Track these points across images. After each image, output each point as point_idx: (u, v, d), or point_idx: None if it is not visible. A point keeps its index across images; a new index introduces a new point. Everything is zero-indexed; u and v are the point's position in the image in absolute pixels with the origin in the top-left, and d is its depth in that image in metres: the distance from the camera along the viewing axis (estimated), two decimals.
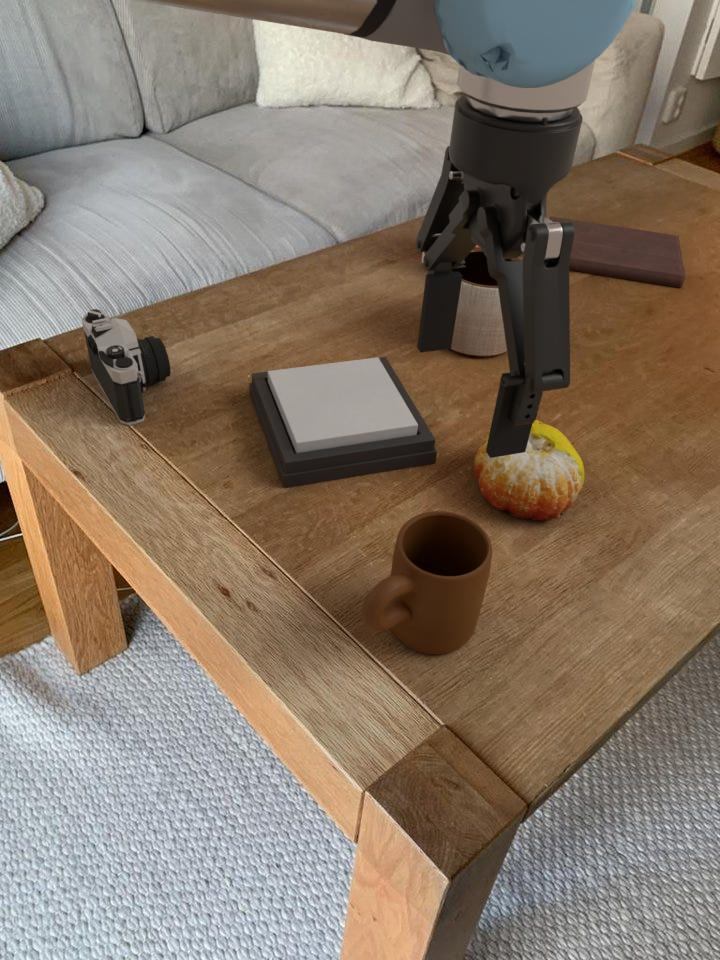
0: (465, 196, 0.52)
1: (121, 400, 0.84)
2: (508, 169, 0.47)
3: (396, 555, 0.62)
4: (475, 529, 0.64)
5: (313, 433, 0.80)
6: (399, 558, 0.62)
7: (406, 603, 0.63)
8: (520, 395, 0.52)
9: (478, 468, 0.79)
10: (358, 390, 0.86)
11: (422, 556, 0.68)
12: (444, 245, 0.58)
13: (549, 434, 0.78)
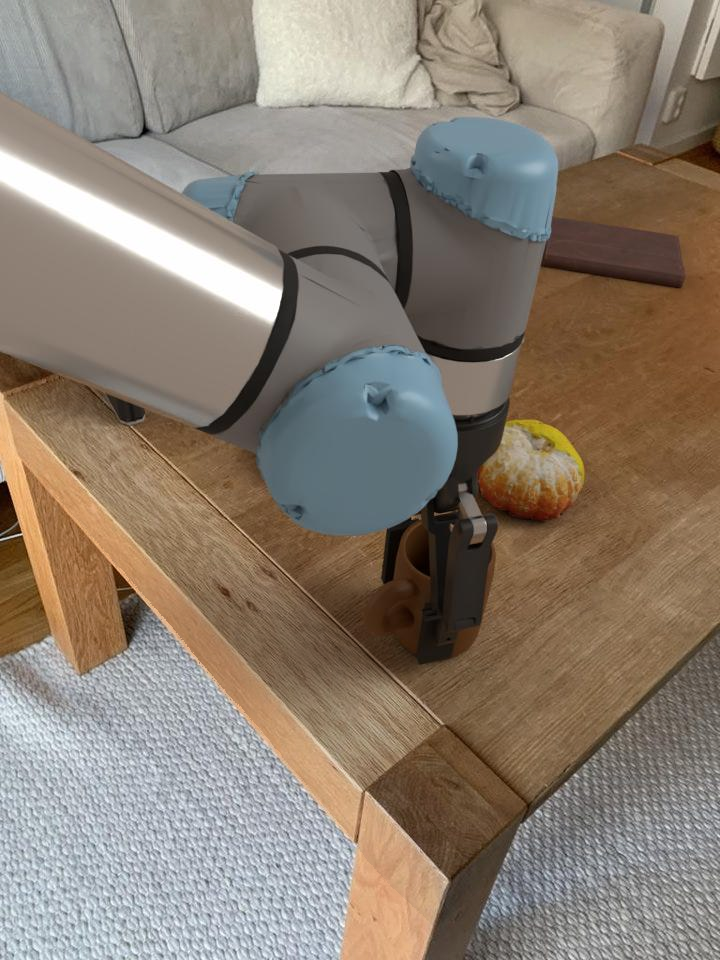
0: None
1: (121, 400, 0.84)
2: None
3: (399, 559, 0.62)
4: None
5: None
6: (401, 562, 0.61)
7: (408, 607, 0.63)
8: (440, 624, 0.59)
9: None
10: None
11: (425, 560, 0.68)
12: None
13: (549, 434, 0.78)
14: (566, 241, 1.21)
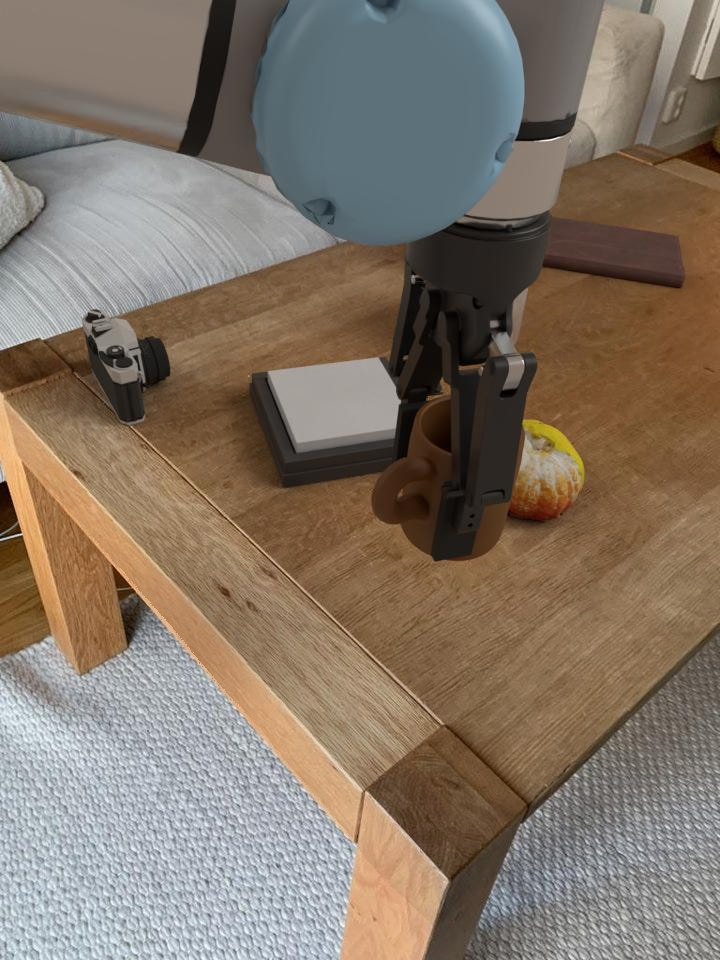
0: (425, 296, 0.47)
1: (121, 400, 0.84)
2: (469, 279, 0.42)
3: (413, 438, 0.54)
4: None
5: (313, 433, 0.80)
6: (416, 440, 0.53)
7: (423, 495, 0.54)
8: (462, 505, 0.50)
9: None
10: (358, 390, 0.86)
11: None
12: (414, 363, 0.53)
13: (549, 434, 0.78)
14: (566, 241, 1.21)
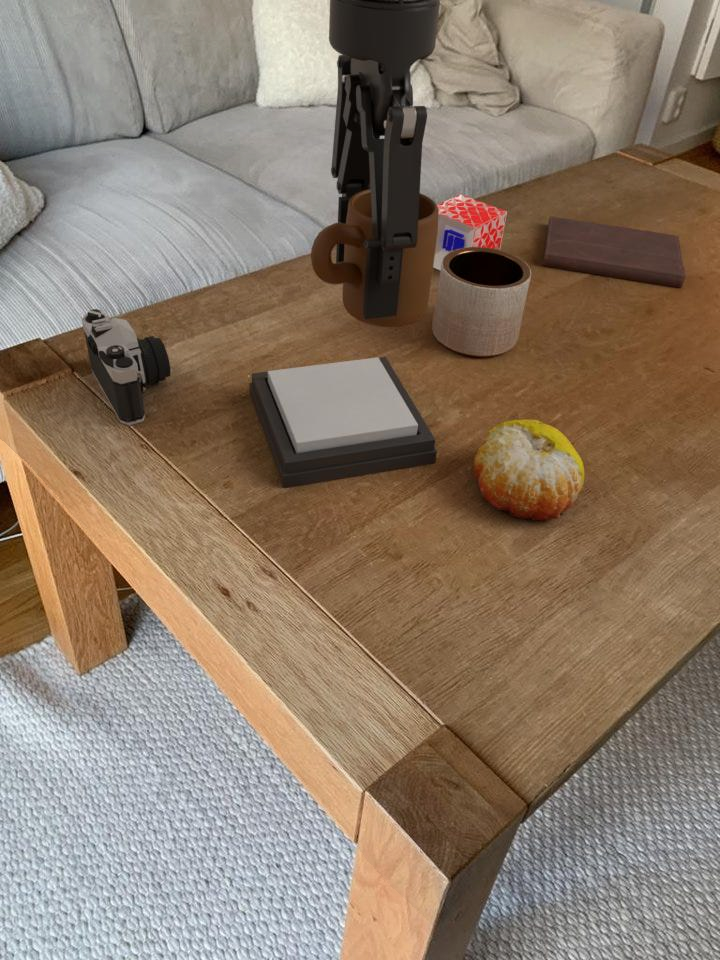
0: (348, 80, 0.60)
1: (121, 400, 0.84)
2: (372, 45, 0.54)
3: (347, 215, 0.66)
4: (425, 201, 0.68)
5: (313, 433, 0.80)
6: (349, 215, 0.66)
7: (356, 263, 0.67)
8: (381, 257, 0.63)
9: (478, 468, 0.79)
10: (358, 390, 0.86)
11: None
12: (346, 153, 0.65)
13: (549, 434, 0.78)
14: (566, 241, 1.21)
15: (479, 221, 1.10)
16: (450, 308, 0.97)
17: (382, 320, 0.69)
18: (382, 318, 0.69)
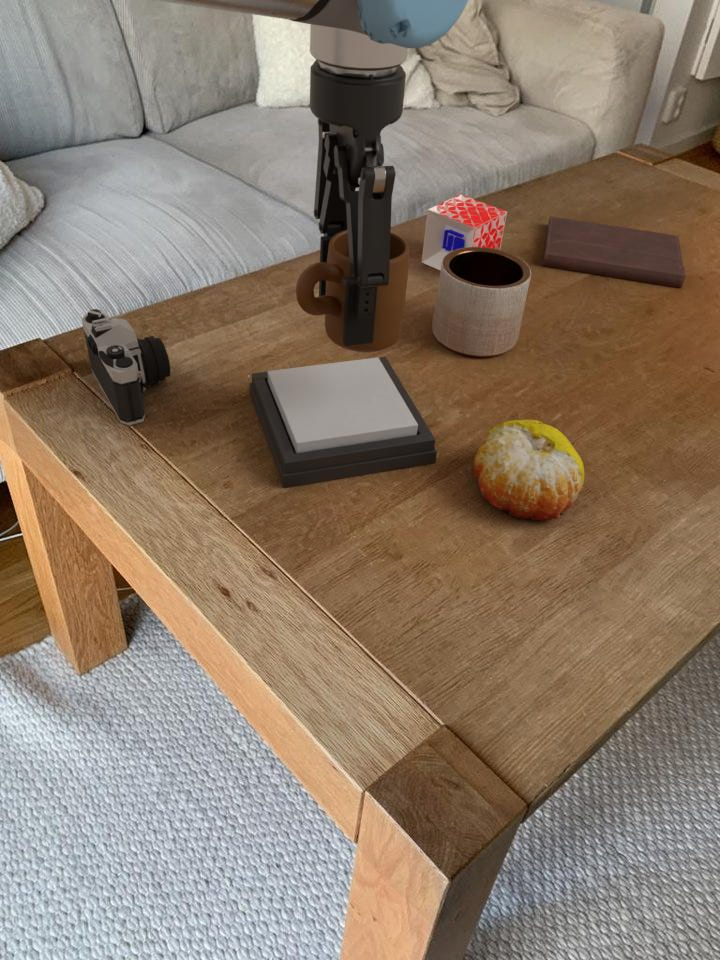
0: (327, 139, 0.68)
1: (121, 400, 0.84)
2: (347, 114, 0.63)
3: (328, 254, 0.74)
4: (397, 240, 0.76)
5: (313, 433, 0.80)
6: (330, 254, 0.74)
7: (336, 296, 0.75)
8: (358, 293, 0.71)
9: (478, 468, 0.79)
10: (358, 390, 0.86)
11: None
12: (327, 199, 0.74)
13: (549, 434, 0.78)
14: (566, 241, 1.21)
15: (479, 221, 1.10)
16: (450, 308, 0.97)
17: (360, 346, 0.77)
18: (360, 344, 0.77)
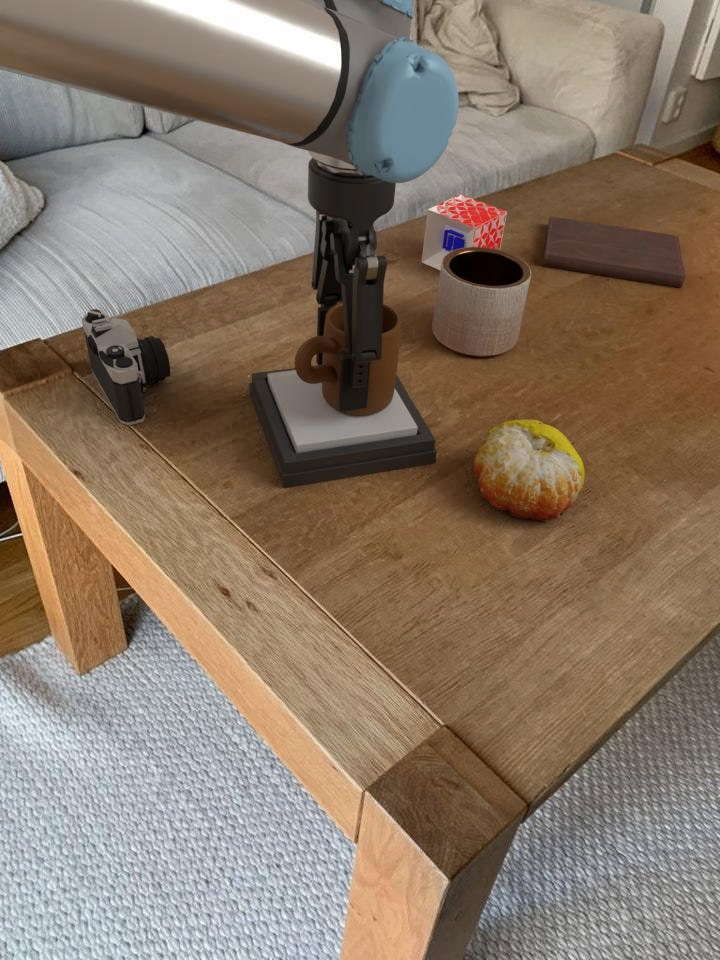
0: (324, 224, 0.73)
1: (121, 400, 0.84)
2: (342, 208, 0.68)
3: (325, 326, 0.79)
4: (390, 312, 0.81)
5: (313, 435, 0.80)
6: (326, 327, 0.79)
7: (332, 365, 0.80)
8: (353, 366, 0.76)
9: (478, 468, 0.79)
10: None
11: None
12: (324, 275, 0.79)
13: (549, 434, 0.78)
14: (566, 241, 1.21)
15: (479, 221, 1.10)
16: (450, 308, 0.97)
17: (355, 410, 0.82)
18: None
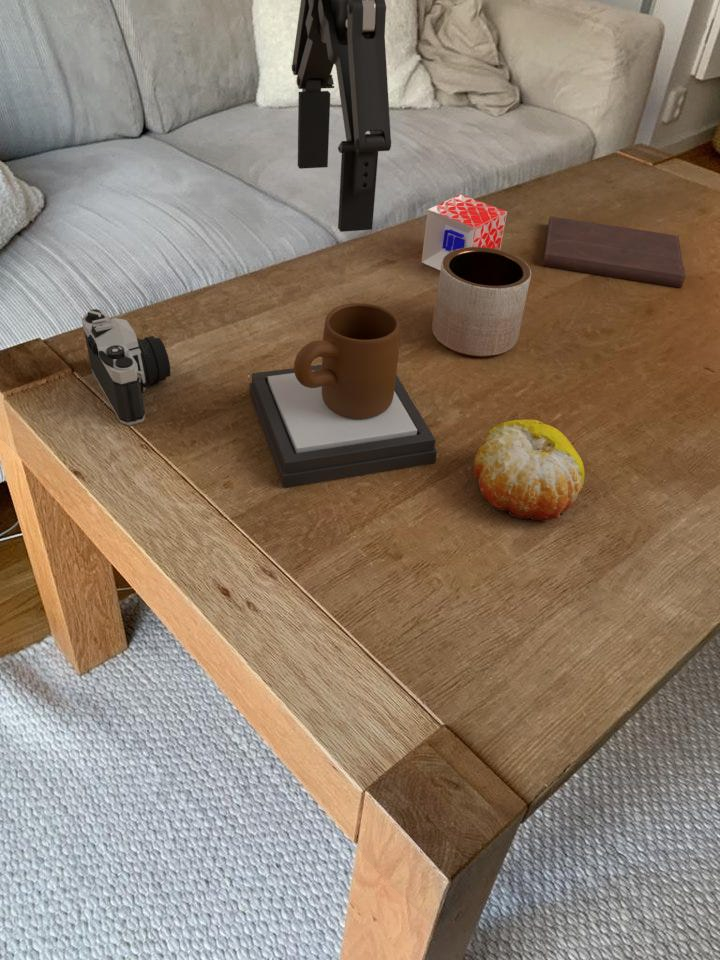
0: None
1: (121, 400, 0.84)
2: None
3: (324, 330, 0.80)
4: (389, 315, 0.81)
5: (313, 438, 0.81)
6: (326, 331, 0.79)
7: (332, 369, 0.80)
8: (356, 163, 0.62)
9: (478, 468, 0.79)
10: None
11: None
12: (307, 56, 0.68)
13: (549, 434, 0.78)
14: (566, 241, 1.21)
15: (479, 221, 1.10)
16: (450, 308, 0.97)
17: (354, 414, 0.82)
18: (354, 412, 0.82)
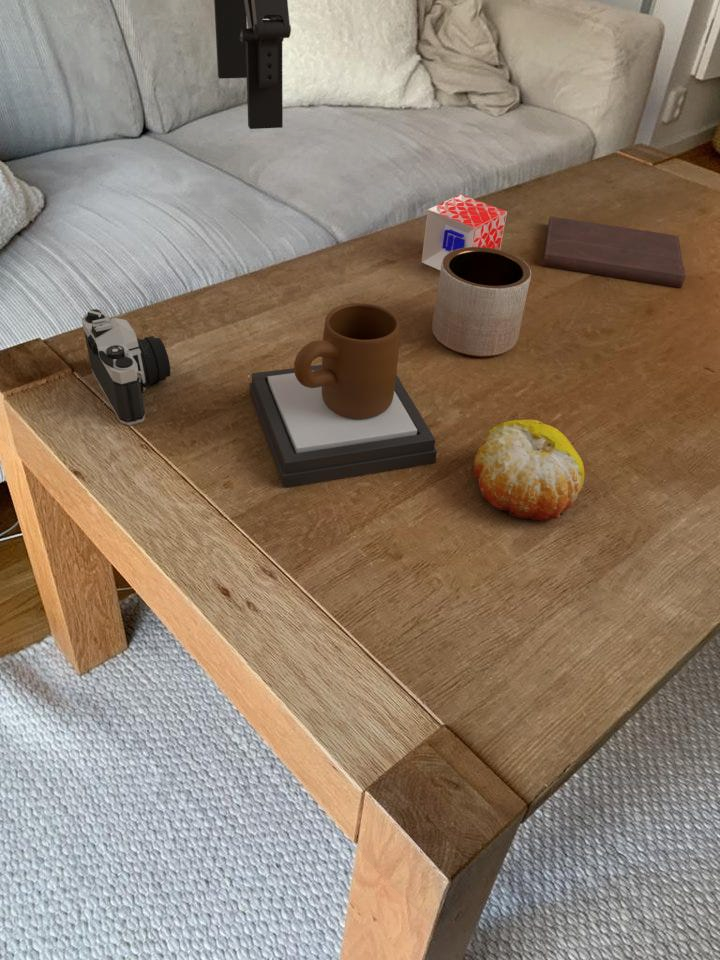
0: None
1: (121, 400, 0.84)
2: None
3: (324, 330, 0.80)
4: (389, 315, 0.81)
5: (313, 438, 0.81)
6: (326, 331, 0.79)
7: (332, 369, 0.80)
8: (259, 53, 0.62)
9: (478, 468, 0.79)
10: None
11: None
12: None
13: (549, 434, 0.78)
14: (566, 241, 1.21)
15: (479, 221, 1.10)
16: (450, 308, 0.97)
17: (354, 414, 0.82)
18: (354, 412, 0.82)
